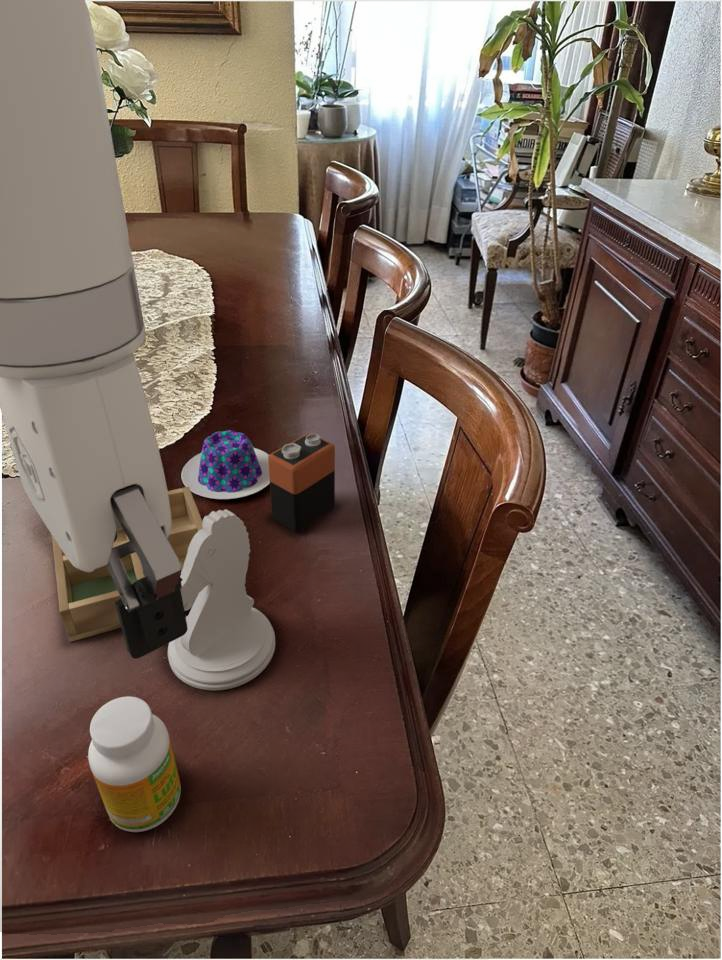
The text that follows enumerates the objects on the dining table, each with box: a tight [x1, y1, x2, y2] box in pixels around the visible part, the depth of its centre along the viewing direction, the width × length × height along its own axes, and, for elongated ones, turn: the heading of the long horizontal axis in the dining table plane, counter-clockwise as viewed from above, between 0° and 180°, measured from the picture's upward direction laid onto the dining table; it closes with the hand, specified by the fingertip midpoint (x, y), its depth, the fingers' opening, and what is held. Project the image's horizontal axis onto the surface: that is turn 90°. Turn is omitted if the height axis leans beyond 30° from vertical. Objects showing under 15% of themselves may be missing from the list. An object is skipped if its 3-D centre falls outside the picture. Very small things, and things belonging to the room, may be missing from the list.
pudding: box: [180, 429, 270, 500], centre depth 83 cm, size 12×12×5 cm
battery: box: [268, 432, 336, 533], centre depth 76 cm, size 4×7×10 cm, turn 140°
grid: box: [51, 486, 203, 643], centre depth 69 cm, size 15×15×4 cm
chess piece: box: [167, 508, 276, 691], centre depth 57 cm, size 10×10×15 cm
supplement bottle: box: [87, 696, 182, 833], centre depth 47 cm, size 5×5×10 cm
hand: (123, 592), depth 39 cm, fingers open, 9 cm apart
